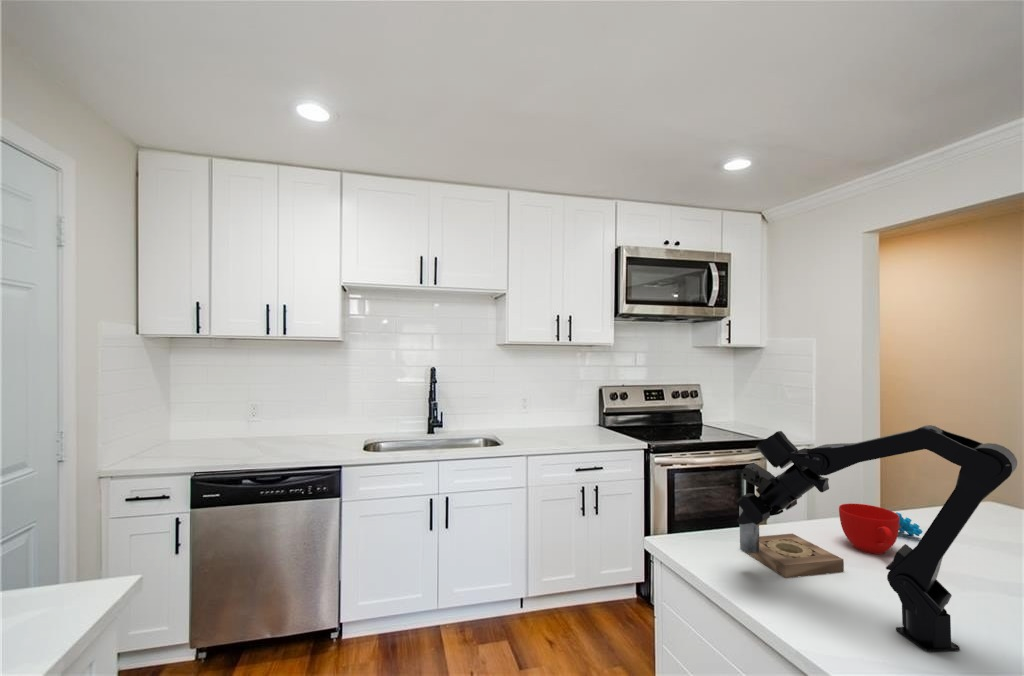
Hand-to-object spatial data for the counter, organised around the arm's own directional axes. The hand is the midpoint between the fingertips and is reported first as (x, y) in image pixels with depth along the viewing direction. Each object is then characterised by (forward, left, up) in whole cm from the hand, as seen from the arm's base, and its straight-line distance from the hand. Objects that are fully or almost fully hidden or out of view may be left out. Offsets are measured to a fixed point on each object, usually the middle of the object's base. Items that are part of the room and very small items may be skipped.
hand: (743, 520), depth 112 cm
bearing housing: (+5, -15, -12) cm, 20 cm away
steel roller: (-1, -1, -7) cm, 7 cm away
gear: (+18, -56, -13) cm, 60 cm away
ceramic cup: (+8, -40, -13) cm, 43 cm away
